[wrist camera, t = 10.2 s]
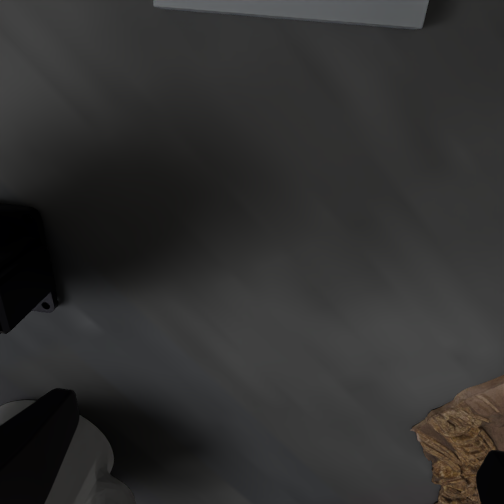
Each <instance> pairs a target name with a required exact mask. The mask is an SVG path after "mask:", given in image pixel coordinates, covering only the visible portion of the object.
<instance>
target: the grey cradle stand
mask: <svg viewBox="0 0 504 504" xmlns="http://www.w3.org/2000/svg"><path fill="white" fill-rule="evenodd" d="M153 1H154V7H157V8H160V9H166V10H179V11H191V12H203V13H215V14H228V15H240V16H252V17H264V18H276V19H289V20H301V21H313V22H325V23H338V24H350V25H362V26H374V27H386V28H399V29H411V30H416V29H421V28H422V27H423V23H424V19H425V15H426V11H427V7H428V3H429V0H153Z"/></svg>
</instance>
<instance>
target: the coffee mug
mask: <svg viewBox="0 0 504 504" xmlns="http://www.w3.org/2000/svg"><path fill="white" fill-rule="evenodd" d="M35 401H37V400H19V401H13V402H9V403H6V404H4V405H2V406H0V425H2V424H3V423H5V422H6V421H7V420H9V419H10V418H12V417H13V416H15V415H16V414H18V413H19V412H21V411H22V410H24V409H25V408H26V407H28V406H29V405H31V404H32V403H34V402H35ZM113 464H114V455H113V451H112V448H111V445H110V443H109V442H108V440H107V438H106V437H105V435H104V434H103V433H102V432H101V431H100V430H99V429H98V428H97V427H96V426H95V425H94V424H92V423H91V422H90V421H89V420H87V419H85V418H84V417H82V416H81V415H79V423H78V426H77V429H76V431H75V434H74V436H73V438H72V441H71V443H70V446H69V448H68V450H67V453H66V455H65V458H64V460H63V462H62V465H61V467H60V470H59V472H58V474H57V477H56V479H55V482H54V484H53V486H52V489H51V491H50V493H49V495H48V498H47V500H46V502H45V504H136V502H135V498H134V495H133V493H132V491H131V490H130V489H129V488H128V487H127V486H126V485H125V484H124V483H123V482H121V481H120V480H118V479H116V478H115V477H113V476H112V475H111V474H110V472H111V470H112V467H113Z"/></svg>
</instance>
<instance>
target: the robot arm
mask: <svg viewBox="0 0 504 504" xmlns="http://www.w3.org/2000/svg"><path fill="white" fill-rule="evenodd" d="M27 215H29V216H30V217H31V218H32V220H30V219H29V218H28V216H27ZM47 303H48V304H49V305H48V304H47ZM57 306H58V301H57V296H56V291H55V282H54V277H53V271H52V266H51V261H50V256H49V251H48V249H47V245H46V240H45V234H44V229H43V224H42V219H41V215H40V213H39V212H38V211H37V210H36V209H34V208H32V207H25V206H16V205H7V204H0V334H1V333H5V334H7V333H8V332H10V331H11V330H12V329H13V328H14V327H15V326H16V325H17V324H18V323H19V322H20V321H21V320H22V319H23V318H24V317H25V316H26V315H27V314H28V313H29V312H31V311H38V312H46V313H50V312H53V311H54V309H55V308H56V307H57ZM78 423H79V409H78V404H77V399H76V394H75V392H74V391H73V390H68V389H61V388H56V389H53V390H51V391H50V392H48V393H47V394H46V395H44V396H43V397H41V398H40V399H38V400H37V401H35V402H34V403H32V404H31V405H29V406H28V407H26V408H25V409H24V410H22V411H21V412H19V413H18V414H16V415H15V416H13V417H12V418H10V419H9V420H7V421H6V422H5V423H3V424H2V425H0V504H45V502H46V500H47V498H48V495H49V493H50V491H51V489H52V486H53V484H54V482H55V479H56V477H57V474H58V472H59V470H60V467H61V465H62V462H63V460H64V458H65V455H66V453H67V450H68V448H69V446H70V443H71V441H72V438H73V436H74V434H75V431H76V429H77V426H78ZM476 485H477V490H478V494H479V498H480V502H481V504H504V451H499V450H491V451H489V452H488V454H487V456H486V457H485V459H484V461H483V462H482V464H481V466H480V468H479V469H478V471H477V474H476Z"/></svg>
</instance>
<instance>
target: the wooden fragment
mask: <svg viewBox="0 0 504 504" xmlns="http://www.w3.org/2000/svg"><path fill="white" fill-rule="evenodd" d="M411 431H414V432H416V435H417V440H418V441H420V444H421V445H422V447H423V452H424V454H425V457H426V458H427V459H428V460H432V463H433V464H432V467H433V468H432V472H433V476H432V482H433V483H434V484H440V485H441V490H440V491H439V495H438V502H437V503H434V504H481V502H480V498H479V494H478V490H477V485H476V474H477V471H478V469H479V468H480V466H481V464H482V462H483V461H484V459H485V457H486V456H487V454H488V452H489V451H491V450H499V451H504V375H503V376H500V377H498V378H495V379H493V380H490V381H488V382H485V383H483V384H480V385H476V386H473V387H470V388H467V389H465V390H463V391H461V392H460V393H459V394H457V395H456V396H455V398H454V400H453V401H451V402H449V403H447V404H445V405H444V406H442V407H440V408H437V409H435V410H431V412H430V413H429V414H428V417H426V419H425V420H423V421H421V422H420V423H419V424H416V425H415V426H413V427H412V429H411Z"/></svg>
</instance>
